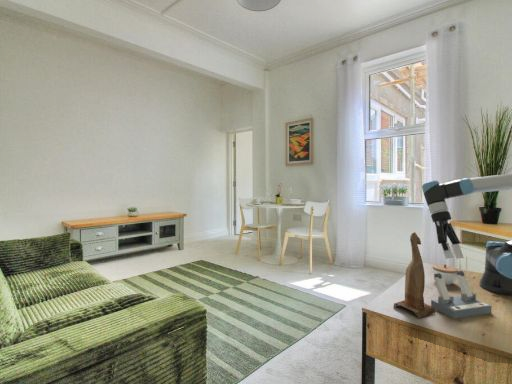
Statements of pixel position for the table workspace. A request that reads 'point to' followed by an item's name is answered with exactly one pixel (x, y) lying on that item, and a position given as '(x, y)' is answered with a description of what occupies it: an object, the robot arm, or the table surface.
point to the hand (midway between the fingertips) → (455, 258)
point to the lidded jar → (446, 273)
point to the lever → (441, 287)
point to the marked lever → (464, 284)
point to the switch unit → (461, 306)
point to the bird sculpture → (415, 283)
